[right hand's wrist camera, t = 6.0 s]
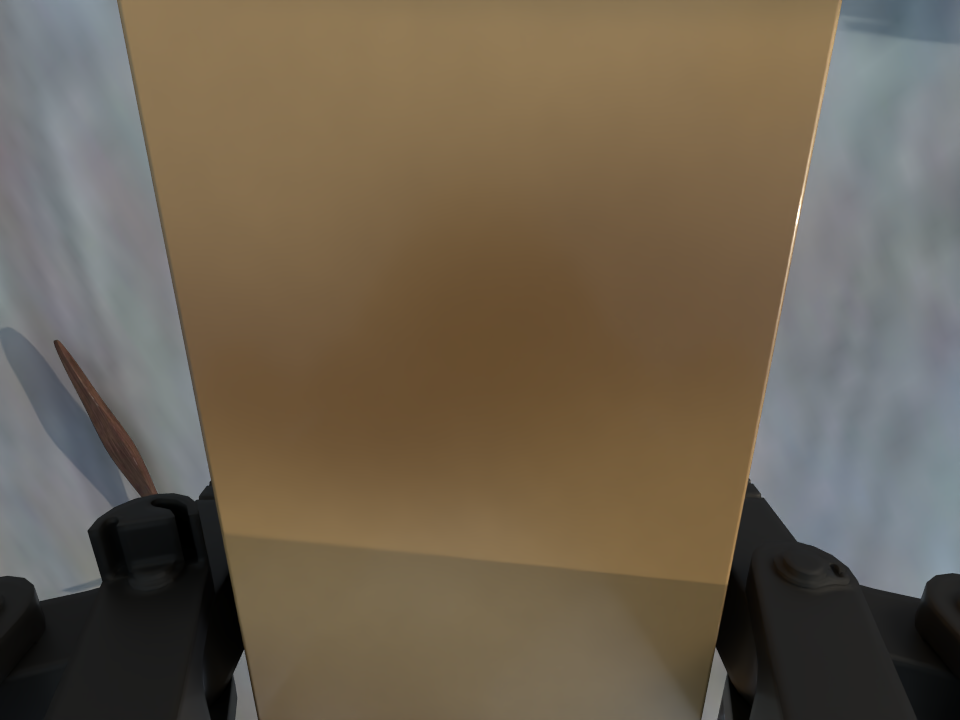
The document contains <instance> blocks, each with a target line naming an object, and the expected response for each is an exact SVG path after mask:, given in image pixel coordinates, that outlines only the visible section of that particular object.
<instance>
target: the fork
mask: <svg viewBox="0 0 960 720" xmlns="http://www.w3.org/2000/svg"><path fill="white" fill-rule="evenodd" d="M54 345H55V348H56V350H57V353H58V355H59V357H60V359H61V361H62V363H63V366H64V368H65V370H66V372H67V374H68V376H69V378H70V380H71V382H72V383H73V385H74V387H75V389H76V391H77V393H78V395H79V397H80V399H81V401H82V403H83V405H84V407H85V409H86V411H87V413H88V415H89V417H90V419H91V421H92V423H93V425H94V427H95V429H96V431H97V433H98V435H99V437H100V439H101V441H102V443H103V445H104V447H105V448H106V450H107V452H108V453H109V455H110V456H111V458H112V459H113V461H114V462H115V464H116V465H117V466H118V468H119V469H120V470H121V472H122V473H123V474H124V476H125V477H126V478H127V479H128V481H129V482H130V483H131V484H132V486H133V487H134V488H135V489H136V491H137V492H138V493H139V494H140V496H141V497H145V496H149V495H153V494H158V493H157V491H156V489H155V486H154V484H153V482H152V480H151V477H150V475H149V473H148V470H147V468H146V466H145V464H144V462H143V460H142V458H141V456H140V454H139V452H138V450H137V448H136V446H135V444H134V443H133V441H132V440H131V438H130V437H129V435H128V434H127V432H126V431H125V430H124V428H123V427H122V426H121V424H120V423H119V422H118V420H117V419H116V418H115V416H114V415H113V414H112V412H111V411H110V410H109V408H108V407H107V406H106V404H105V403H104V402H103V400H102V399H101V397H100V396H99V395H98V393H97V392H96V390H95V389H94V387H93V386H92V384H91V383H90V381H89V380H88V379H87V377H86V376H85V374H84V373H83V371H82V370H81V368H80V367H79V366H78V364H77V363H76V361H75V360H74V359H73V357H72V356H71V355H70V353H69V352H68V351H67V349H66V348H65V347H64V346H63V345H62V343H61V342H60V341H58V340H55V341H54Z"/></svg>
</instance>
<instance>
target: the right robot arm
mask: <svg viewBox="0 0 960 720" xmlns="http://www.w3.org/2000/svg"><path fill="white" fill-rule="evenodd" d="M88 534H89V538H90V541H91V544H92V548H93V551H94V554H95V558H96V561H97V565H98V568H99V571H100V575H101V578H102V581H103V582H102V584H101V586H100V588H96V589H93V590H89V591H85V592H80V593H76V594H71V595H67V596H62V597H57V598H53V599H48V600H44V601H39V599H38V596H37V593H36V590H35V588H34V585H33V584H31V583H30V582H29V581H28V580H26V579H25V578H20V577H13V576H4V577H0V720H235V715H236V706H237V693H236V686H235V681H234V676H233V673H234V671H235V668H236V666H237V664H238V662H239V659H240V657H241V655H242V653H243V651H244V645H243V640H242V635H241V630H240V625H239V620H238V614H237V609H236V604H235V599H234V594H233V589H232V584H231V579H230V574H229V569H228V563H227V558H226V553H225V548H224V543H223V538H222V533H221V528H220V523H219V518H218V512H217V507H216V502H215V497H214V492H213V487H212V482H211V481H210V484H209V486H206V488H205V489H204V490H203V492H202V493H201V494H200V496H199V500H196V501H193V500H192V499H191V498H190V497H188V496H184V495H179V494H175V493H169V494H153V495H149V496H145V497H141V498H136V499H133V500H131V501H128V502H126V503H124V504H121V505H119V506H117V507H114V508H113V509H111V510H110V511H108V512H107V513H105V514H104V515H102V516H101V517H99V518H98V519H97V520H96V521H95V522H94V524H93V525H92V526H91V527H90V528H89V530H88ZM716 648H717V651H718V653H719V655H720V657H721V660H722V662H723V664H724V666H725V668H726V671H727V676H726V681H725V686H724V691H723V695H722V700H721V705H720V710H719V715H718V719H717V720H960V574H954V573H951V574H943V575H936V576H934V577H933V578H932V579H931V580H929V581H928V582H927V583H926V586H925V589H924V592H923V595H922V597H921V599H919V598H914V597H910V596H905V595H901V594H896V593H891V592H887V591H882V590H877V589H873V588H869V587H866V586H862V585H859V583H858V581H857V579H856V578H855V576H854V575H853V574H852V572H851V571H850V569H849V568H848V567H847V566H846V565H844V564H843V563H842V562H840V561H839V560H838V559H837V558H835V557H834V556H833V555H831V554H829V553H826V552H824V551H822V550H820V549H818V548H816V547H814V546H811V545H807V544H803V543H799V542H797V541H796V540H795V538H794V537H793V536H792V534H791V533H790V532H789V530H788V529H787V528H786V526H785V525H784V524H783V522H782V521H781V520H780V519H779V517H778V516H777V515H776V513H775V512H774V511H773V509H772V508H771V507H770V505H769V504H768V503H767V501H766V500H765V499H764V498H761V494H760V492H759V491H758V490H757V488H756V487H755V486H754V484H751V483H750V479H749V478H748V483H747V488H746V494H745V499H744V504H743V509H742V514H741V519H740V524H739V529H738V534H737V540H736V545H735V550H734V555H733V560H732V565H731V570H730V575H729V580H728V585H727V591H726V596H725V601H724V606H723V611H722V616H721V621H720V626H719V631H718V637H717V642H716Z"/></svg>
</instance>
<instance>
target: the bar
mask: <svg viewBox="0 0 960 720" xmlns="http://www.w3.org/2000/svg"><path fill="white" fill-rule="evenodd" d="M117 3H118V8H119V13H120V18H121V23H122V28H123V33H124V38H125V43H126V48H127V54H128V59H129V64H130V69H131V74H132V79H133V84H134V89H135V94H136V99H137V105H138V110H139V115H140V120H141V125H142V130H143V135H144V140H145V145H146V150H147V156H148V161H149V166H150V171H151V176H152V181H153V186H154V191H155V196H156V201H157V207H158V212H159V217H160V222H161V227H162V232H163V237H164V242H165V247H166V252H167V258H168V263H169V268H170V273H171V278H172V283H173V288H174V293H175V298H176V303H177V309H178V314H179V319H180V324H181V329H182V334H183V339H184V344H185V349H186V354H187V359H188V365H189V370H190V375H191V380H192V385H193V390H194V395H195V400H196V405H197V410H198V416H199V421H200V426H201V431H202V436H203V441H204V446H205V451H206V456H207V461H208V467H209V472H210V477H211V482H212V487H213V492H214V497H215V502H216V507H217V512H218V518H219V523H220V528H221V533H222V538H223V543H224V548H225V553H226V558H227V563H228V569H229V574H230V579H231V584H232V589H233V594H234V599H235V604H236V609H237V614H238V620H239V625H240V630H241V635H242V640H243V645H244V650H245V655H246V660H247V665H248V670H249V676H250V681H251V686H252V691H253V696H254V701H255V706H256V711H257V716H258V720H701V718H702V713H703V708H704V703H705V698H706V693H707V688H708V682H709V677H710V672H711V667H712V662H713V657H714V652H715V647H716V642H717V637H718V631H719V626H720V621H721V616H722V611H723V606H724V601H725V596H726V591H727V585H728V580H729V575H730V570H731V565H732V560H733V555H734V550H735V545H736V540H737V534H738V529H739V524H740V519H741V514H742V509H743V504H744V499H745V494H746V488H747V483H748V478H749V473H750V468H751V463H752V458H753V453H754V448H755V443H756V437H757V432H758V427H759V422H760V417H761V412H762V407H763V402H764V397H765V392H766V386H767V381H768V376H769V371H770V366H771V361H772V356H773V351H774V346H775V340H776V335H777V330H778V325H779V320H780V315H781V310H782V305H783V300H784V295H785V289H786V284H787V279H788V274H789V269H790V264H791V259H792V254H793V249H794V244H795V238H796V233H797V228H798V223H799V218H800V213H801V208H802V203H803V198H804V192H805V187H806V182H807V177H808V172H809V167H810V162H811V157H812V152H813V147H814V141H815V136H816V131H817V126H818V121H819V116H820V111H821V106H822V101H823V95H824V90H825V85H826V80H827V75H828V70H829V65H830V60H831V55H832V50H833V44H834V39H835V34H836V29H837V24H838V19H839V14H840V9H841V4H842V0H117Z"/></svg>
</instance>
